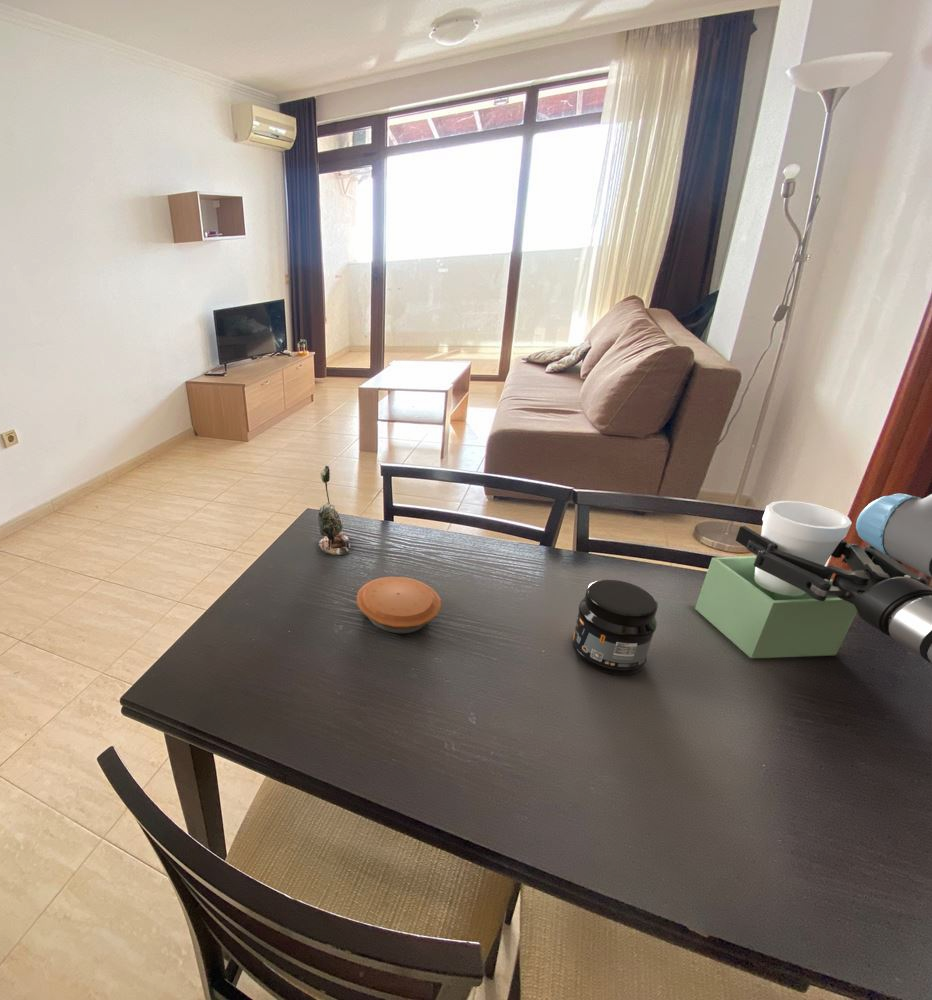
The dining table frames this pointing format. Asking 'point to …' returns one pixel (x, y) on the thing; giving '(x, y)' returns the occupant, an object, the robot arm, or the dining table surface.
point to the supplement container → (615, 626)
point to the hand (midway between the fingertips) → (772, 531)
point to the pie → (398, 603)
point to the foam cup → (800, 537)
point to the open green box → (770, 614)
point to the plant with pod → (331, 525)
